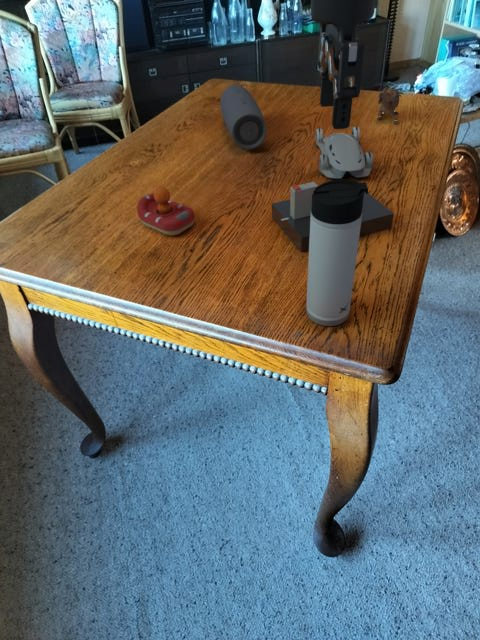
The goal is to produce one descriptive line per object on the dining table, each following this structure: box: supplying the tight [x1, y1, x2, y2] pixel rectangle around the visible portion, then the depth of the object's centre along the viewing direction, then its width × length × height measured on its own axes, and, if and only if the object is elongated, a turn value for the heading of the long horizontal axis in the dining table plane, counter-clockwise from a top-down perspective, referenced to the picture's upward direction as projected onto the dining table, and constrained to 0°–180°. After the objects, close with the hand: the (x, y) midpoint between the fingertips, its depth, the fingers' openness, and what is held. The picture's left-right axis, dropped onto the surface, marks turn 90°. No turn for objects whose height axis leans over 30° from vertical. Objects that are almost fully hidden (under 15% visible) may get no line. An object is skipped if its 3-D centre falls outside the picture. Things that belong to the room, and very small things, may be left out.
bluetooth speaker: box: [219, 84, 268, 150], centre depth 117 cm, size 23×9×10 cm, turn 9°
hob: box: [271, 192, 395, 253], centre depth 86 cm, size 19×13×3 cm
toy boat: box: [136, 186, 196, 237], centre depth 88 cm, size 8×12×8 cm, turn 51°
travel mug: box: [305, 178, 369, 327], centre depth 62 cm, size 6×7×20 cm
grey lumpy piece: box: [314, 126, 374, 180], centre depth 105 cm, size 11×24×5 cm, turn 178°
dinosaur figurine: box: [376, 84, 405, 125], centre depth 120 cm, size 14×6×9 cm, turn 163°
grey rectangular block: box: [289, 181, 319, 220], centre depth 82 cm, size 4×2×6 cm, turn 110°
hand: (333, 116), depth 64 cm, fingers open, 8 cm apart
